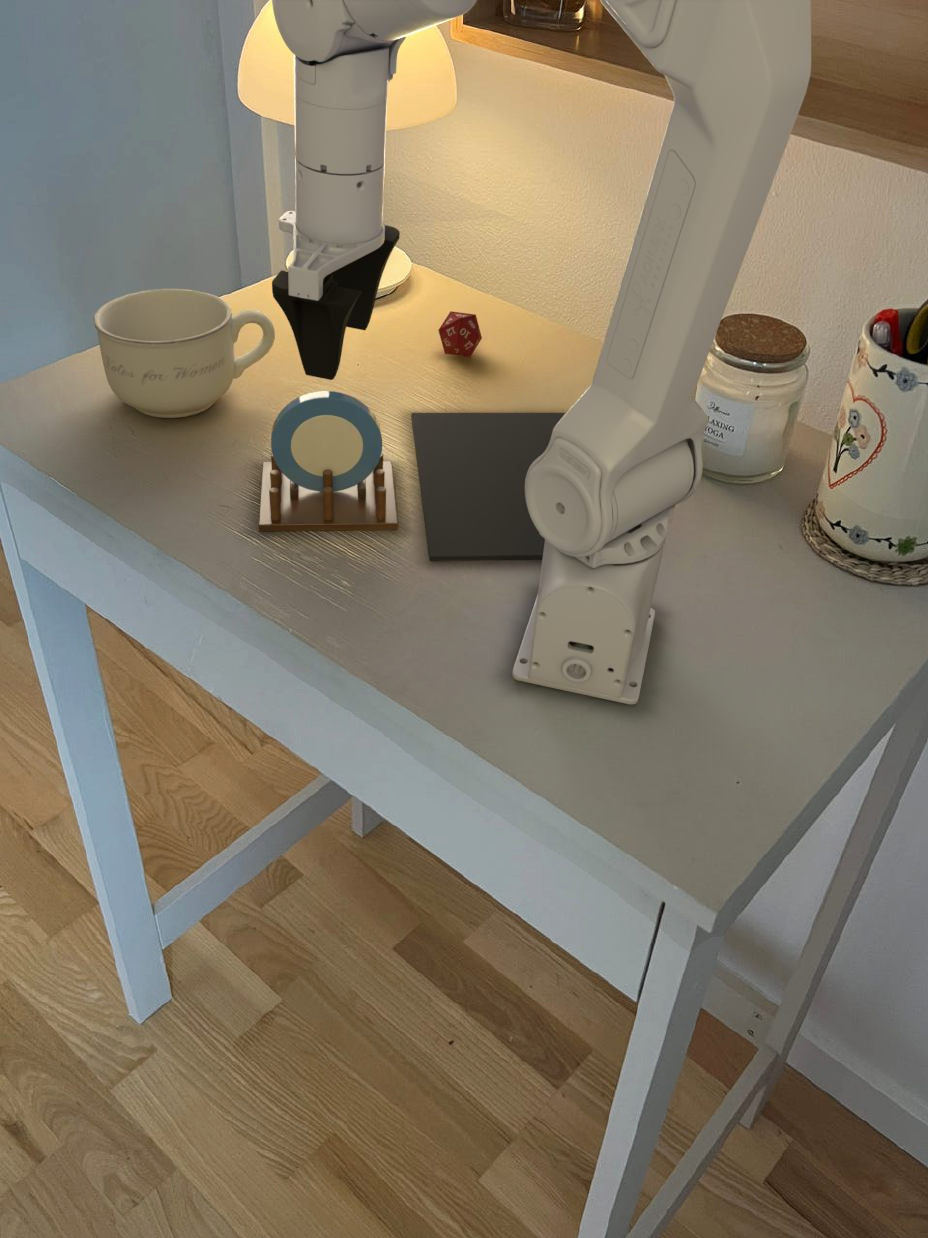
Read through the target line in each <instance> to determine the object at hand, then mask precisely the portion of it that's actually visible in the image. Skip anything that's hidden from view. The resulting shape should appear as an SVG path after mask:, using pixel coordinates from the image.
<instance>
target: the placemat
mask: <svg viewBox="0 0 928 1238" xmlns="http://www.w3.org/2000/svg"><path fill="white" fill-rule="evenodd" d="M566 413H567V412H411V415H410V417H411V427H412V433H413V441H414V448H415V449H414V450H415V456H416V464H417V472H418V481H419V488H420V496H421V504H422V512H423V521H424V527H425V537H426V542H427V543H426V544H427V551H428V560H429V562H435V561H437V562H439V561H441V562H445V561H500V560H502V561H505V560H506V561H507V560H514V561H515V560H542V559H543V551H544V543H545V539H544V538H543V537H542V536H541V535H540V534H539V531H538V530H537V528H536V527H535V525H534V523H533V521H532V519H531V517H530V514H529V511H528V508H527V504H526V499H525V479H526V475H527V472H528V470H529V467H530V466H531V464H532V463H533V462H534V461H535V460H536V459H537V458H538V457H539V456H541V455H542V454H543V453H544V452H545V450H546V449H547V447H548V445H549V442H550V439H551V435H552V432H553V429H554V427H555V426H556V424H557V423H558V422H559V421H560V420H561V418H562V417H563V416H564V415H565V414H566Z"/></svg>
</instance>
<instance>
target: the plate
mask: <svg viewBox="0 0 928 1238" xmlns="http://www.w3.org/2000/svg"><path fill="white" fill-rule="evenodd" d="M270 436H271V437H270V447H271V449H270V451H271V454H272V455H273V458H274V460H275V463H276V465H277V466H278V468H279V469H280V471H281V472H282V473H283V474H284V475H285V476H286V477H287V478H288V479H290V480H291V481H292V482H294V483H295V484H297V485H299V486H301V487H304V488H306V489H310V490H313V491H320V492H323V471H324V470H326V469H329V470H331V471H332V472H333V492H335V491H341V490H344V489H348V488H350V487H353V486H355V485H357V484H359V483H360V482H362V481H363V480H364V479H366V478H367V477H368V476H369V475H370V474H371V473H372V472H373V470H374V469H375V467H376V466H377V464H378V462H379V460H380V457H381V453H382V454H383V433H382V430H381V427H380V423H379V421H378V419H377V417H376V415H375V414H374V412H373V411H372V410H371V409H370V408H369V406H367V405H366V404H365V403H363V402H362V401H361V400H359V399H358V398H356V397H354V396H352V395H349V394H347V393H343V392H339V391H335V390H334V391H333V390H318V391H313V392H309V393H305V394H302V395H300V396H298V397H296V398H295V399H293V400H291V401H290V402H289V403H287V404H286V405H285V406H284V407H283V408H282V409H281V410H280V412H279V413H278V415H277V416H276V418H275V420H274V422H273V425H272V428H271V433H270Z"/></svg>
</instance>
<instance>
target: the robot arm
mask: <svg viewBox="0 0 928 1238" xmlns="http://www.w3.org/2000/svg"><path fill="white" fill-rule="evenodd" d="M477 1H478V0H271V3H272V4H271V5H272V10H273V17H274V21H275V23H276V27H277V29H278V32H279V34H280V36H281V39H282V41H283V42H284V44H285V46H286V47H287V49H288V50H289V51H290V52H291V53H292V54H293V86H294V87H293V92H294V93H293V94H294V95H293V97H294V101H293V102H294V103H293V104H294V164H295V165H294V169H295V170H294V171H295V173H294V174H295V210H287V211H285V212H284V213H282V216H280V218H278V229H279V230H280V231H282V232H285V233H289V234H291V235H292V243H293V244H292V246H293V257H292V261H291V263H290V264H289V266H287V270H288V271H287V270H280V271H279V272H278V273H277V275H276V276H275V277H274V278H273V279H272V281H271V291H272V297H273V299H274V301H276V303H277V304H278V306H279V307H280V309H281V310H282V312H283V313H284V316H285V317H286V319H287V321H288V323H289V325H290V328H291V331H292V333H293V337H294V340H295V343H296V346H297V350H298V354H299V357H300V362H301V365H302V368H303V371H304V375H306V376H309V377H314V378H320V379H324V380H329V381H332V380H335V377H336V376H337V373H338V371H339V368H340V364H341V359H342V352H343V346H344V339H345V334H346V329H347V328H350V329H355V330H361V331H367V329H368V326H369V324H370V321H371V318H372V315H373V311H374V307H375V303H376V299H377V294H378V292H379V287H380V283H381V280H382V277H383V273H384V271H385V268H386V265H387V263H388V260H389V258H390V256H391V254H392V253H393V250H394V249H395V247H396V245H397V243H398V241H399V240H400V237H401V236H400V235H401V234H400V230H399V229H398V228H396V227H394V226H391V225H386V224H385V220H384V218H385V217H384V197H385V195H384V194H385V189H384V188H385V169H386V168H385V167H386V166H385V165H386V161H385V160H386V141H387V140H386V138H387V115H388V113H387V112H388V110H387V109H388V86H389V85H388V84H389V83H390V82H391V81H392V80H393V78H394V75H395V74H397V66H398V65H397V63H398V55H399V54H398V53H399V50H400V47H401V46H402V44H403V43H404V41H405V40H406V38H407V36H410V35H413V34H415V33H418V32H421V31H423V30H427V29H429V28H432V27H434V26H438V25H439V24H443V23H446V22H448V21H451V20H453V19H456V18H459V17H462V16H463V15H465V14H467V13H468V12H469V11H470V10H472V8H473V7H474V6H475V4H476V3H477ZM599 1H600V3H601V5H603V7H604V8H605V9H606V10H607V12H608V13H609V14H610V15H611V16H612V18H613V19H614V20H615V21H616V23H617V24H618V25H619V26H620V27H621V29H622V30H623V31H624V33H625V34H626V35H627V36H628V37H629V38H630V40H631V41H632V43H633V44H634V45H635V46H636V47H637V48H638V49H639V51H640V52H641V53H642V55H643V56H644V57H645V58H646V59H647V60H648V62H649V63H650V64H651V65H652V67H653V68H654V69H655V70H656V71H657V72H658V73H660V74H662V75H663V76H664V78H665V80H666V82H667V84H668V86H669V88H670V89H671V92H672V95H673V105H672V108H671V112H670V115H669V118H668V121H667V125H666V128H665V133H664V135H663V138H662V142H661V145H660V149H659V152H658V155H657V159H656V163H655V165H654V169H653V173H652V176H651V179H650V183H649V186H648V190H647V193H646V197H645V201H644V202H643V203H644V204H643V207H642V210H641V214H640V217H639V220H638V225H637V227H636V230H635V234H634V237H633V241H632V244H631V248H630V252H629V255H628V258H627V261H626V264H625V269H624V271H623V275H622V279H621V282H620V286H619V287H618V292H617V295H616V299H615V301H614V302H615V303H614V306H613V308H612V312H611V316H610V320H609V323H608V327H607V330H606V333H605V337H604V340H603V344H602V347H601V350H600V354H599V358H598V360H597V364H596V368H595V369H594V370H595V372H594V374H593V377H592V381H591V384H590V385H589V386H588V388H587V389H586V390H585V391H584V392H583V394H582V395H581V396H579V397H578V399H577V400H576V401H575V403H574V404H573V405H571V407H570V408H569V409H568V411H566V412H565V413H566V414H565V415H564V416H563V417H562V418H561V420H560V421H559V422H558V423H557V424H556V426H555V427H554V429H553V432H552V435H551V439H550V442H549V445H548V447H547V449H546V450H545V452H544V453H543V454H542V455H541V456H539V457H538V458H537V459H536V460H535V461H534V462H533V463H532V464H531V466H530V467H529V470H528V472H527V475H526V479H525V499H526V504H527V508H528V511H529V514H530V517H531V519H532V521H533V523H534V525H535V527H536V528H537V530H538V531H539V534H540V535H541V536H542V537H543V538H544V539H545V543H544V551H543V559H541V568H540V576H539V581H538V582H539V583H538V591H537V594H536V598H535V600H534V604H533V608H532V610H531V613H530V616H529V619H528V622H527V625H526V628H525V631H524V634H523V637H522V641H521V642H520V643H521V644H520V647H519V648H518V649H519V650H518V651H517V652H518V653H517V655H516V659H515V661H514V665H513V667H512V671H511V676H512V679H514V680H515V681H519V682H523V683H527V684H533V685H537V686H542V687H546V688H551V689H556V690H561V691H565V692H570V693H574V694H579V695H584V696H589V697H592V698H598V699H602V700H606V701H612V702H615V703H616V702H617V703H621V704H626V705H632V706H633V705H636V704H637V703H638V702H639V698H640V694H641V688H642V683H643V678H644V673H645V668H646V663H647V658H648V652H649V647H650V642H651V637H652V632H653V626H654V622H655V617H656V610H655V609H654V608H652V604H653V598H654V594H655V589H656V584H657V580H658V575H659V570H660V566H661V561H662V557H663V552H664V547H665V543H666V538H667V533H668V526H670V525H671V524H672V523H673V518H674V513H675V509H676V505H678V504H681V503H683V502H685V501H687V500H689V499H690V498H691V497H692V496H693V495H694V494H695V493H696V491H697V489H698V488H699V486H700V483H701V480H702V476H703V469H704V463H703V453H702V452H703V451H702V448H703V447H702V445H703V438H704V434H705V431H706V428H707V426H708V423H709V419H710V418H709V416H708V415H707V413H706V412H705V411H704V409H703V408H702V407H701V406H700V404H699V403H698V402H697V400H696V399H695V398H694V399H693V398H692V397H693V394H694V391H695V388H696V389H697V387H696V386H698V383H699V380H700V379H701V375H702V372H703V369H704V367H705V364H706V361H707V359H708V357H709V354H710V350H711V348H712V346H713V343H714V340H715V338H716V335H717V332H718V329H719V327H720V324H721V321H722V319H723V316H724V313H725V311H726V308H727V306H728V303H729V300H730V298H731V294H732V292H733V289H734V287H735V284H736V281H737V279H738V276H739V274H740V271H741V268H742V265H743V262H744V260H745V257H746V255H747V252H748V249H749V247H750V244H751V241H752V239H753V236H754V233H755V231H756V228H757V224H758V223H759V220H760V217H761V214H762V213H763V209H764V206H765V204H766V201H767V198H768V195H769V193H770V190H771V188H772V185H773V183H774V179H775V177H776V174H777V172H778V169H779V166H780V164H781V161H782V158H783V156H784V153H785V150H786V148H787V145H788V142H789V140H790V136H791V134H792V132H793V129H794V126H795V125H796V121H797V118H798V115H799V113H800V110H801V107H802V105H803V102H804V100H805V96H806V94H807V91H808V87H809V82H810V80H811V79H810V78H811V74H812V0H599ZM695 392H696V391H695Z"/></svg>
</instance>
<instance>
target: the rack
mask: <svg viewBox="0 0 928 1238" xmlns="http://www.w3.org/2000/svg"><path fill="white" fill-rule="evenodd" d="M394 479H395V478H394V470H393V461H391V460H387V461H386V460H385V461H384V454H383V452H382V453H381V457H380V460H379V462H378V464H377V466H376V467H375V469H374V470H373V472H372V473H371V474H370V475H369V476H368V477H367V478H366V479H364V480H363V481H362V482H360V483H359V484H357V485H355V486H353V487H350V488H348V489H344V490H341V491H335V492H333V472H332V471H331V470H329V469H326V470H324V471H323V492H320V491H313V490H310V489H306V488H304V487H301V486H299V485H297V484H295V483H294V482H292V481H291V480H290V479H288V478H287V477H286V476H285V475H284V474H283V473H282V472H281V471H280V469H279V468H278V466H277V465H276V463H275V460H274V458H273V455H272V453H271V454H270V461H262V467H261V480H260V481H261V483H260V496H259V497H260V499H259V511H258V531H259V532H307V531H308V532H310V531H311V532H313V531H316V532H317V531H321V532H323V531H394V530H398V529H399V527H398V526H399V522H398V511H397V500H396V491H395V480H394Z"/></svg>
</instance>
